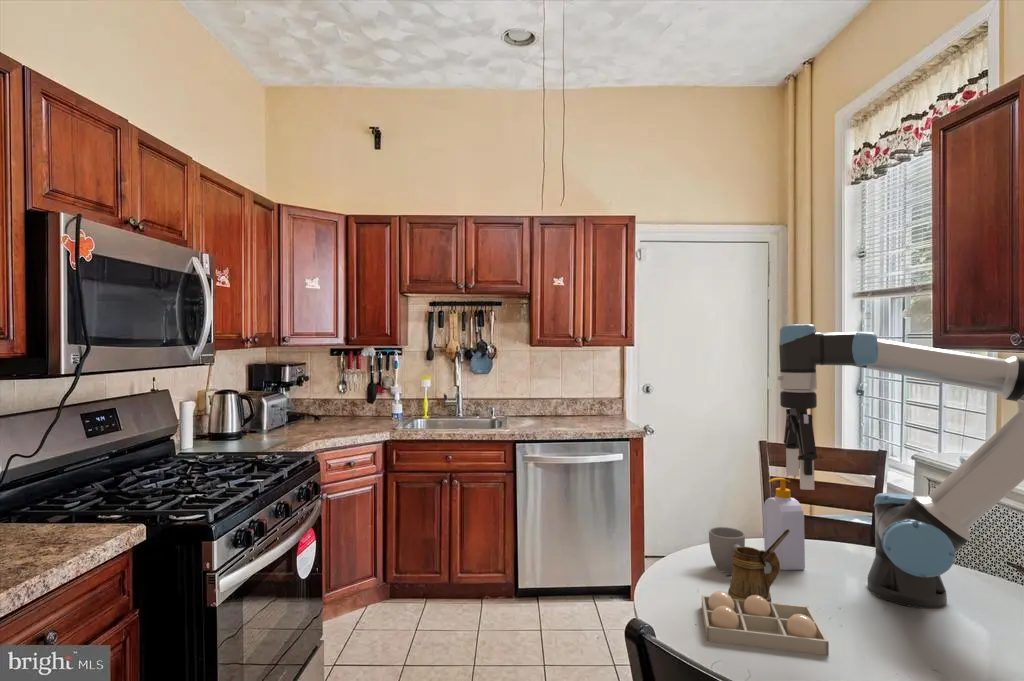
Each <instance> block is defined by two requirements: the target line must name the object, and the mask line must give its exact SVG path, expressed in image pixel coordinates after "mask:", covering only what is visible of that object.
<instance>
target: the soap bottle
mask: <svg viewBox="0 0 1024 681" xmlns="http://www.w3.org/2000/svg"><path fill="white" fill-rule="evenodd" d="M776 481H780V482H779V483H780V484H779V486H780V487H777V488H775V495H774V497H768V498H767V499H765V501H764V502H763V504H764V505H763V529H764V530H763V535H764V538H763V539H764V540H763V541H764V542H763V543H764V547H763V548H764V550H767V549H768V548H769V547H771V546H772V545H773V544H774V543H775V542H776V540H777V539H778V538H779V537H780V536H781V535H782V534H783V532H784V531H785V530H788V529H789V531H790V532H789V534H788V535H787V536H786V537H785V538H784V539H783V541H782V542H781V543H780V544H779V545H778V546H777V548H776V549H775V550H774V552H775V554H776V555H777V557H778V560H779V563H780V571H796V570H805V569H806V556H805V555H806V554H805V553H806V552H805V551H806V549H805V548H806V547H805V546H806V545H805V515H804V510H803V507H802V505H801V503H800V501H799V500H797V499H796V498H795V497H791V495H792V494H791V489H789V488H786V486H787V483H786V482H788V483H791V482H792V481H790V480H789V479H786V478H784V477H773V478H771V479H769V480H768V483H770V484H771V483H773V482H776Z"/></svg>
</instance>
